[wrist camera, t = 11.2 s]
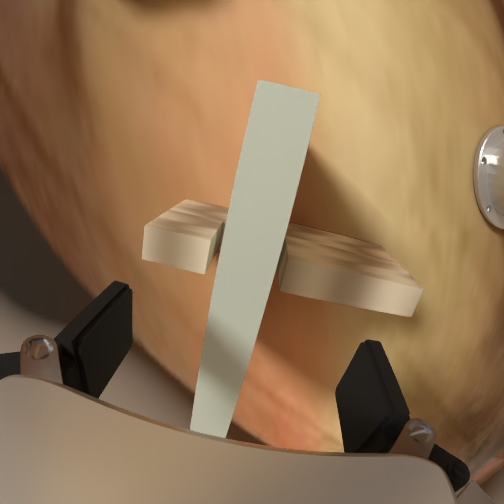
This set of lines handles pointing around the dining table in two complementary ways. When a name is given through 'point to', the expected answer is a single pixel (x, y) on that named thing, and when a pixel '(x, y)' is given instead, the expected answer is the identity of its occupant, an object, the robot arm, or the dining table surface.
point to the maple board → (290, 259)
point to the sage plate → (251, 245)
